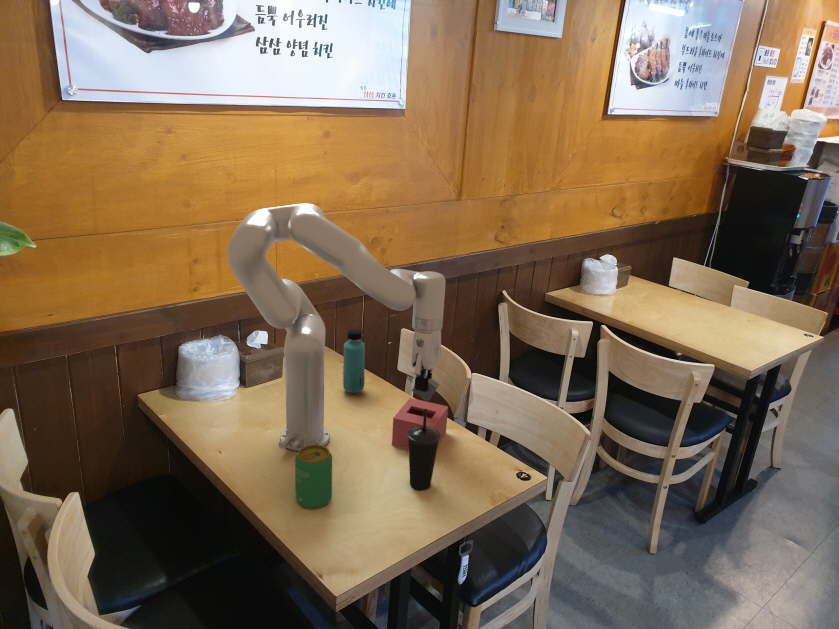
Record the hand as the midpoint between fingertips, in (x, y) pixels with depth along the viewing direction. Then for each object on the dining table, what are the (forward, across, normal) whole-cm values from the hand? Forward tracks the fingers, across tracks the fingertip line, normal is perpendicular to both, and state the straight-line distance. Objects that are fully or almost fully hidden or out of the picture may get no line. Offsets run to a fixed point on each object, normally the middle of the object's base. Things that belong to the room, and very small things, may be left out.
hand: (423, 387), depth 160 cm
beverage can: (+15, -34, +13) cm, 40 cm away
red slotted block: (+15, 0, 0) cm, 15 cm away
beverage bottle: (+15, +16, +27) cm, 35 cm away
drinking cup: (+15, -19, -7) cm, 25 cm away
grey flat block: (+1, 0, -3) cm, 3 cm away
